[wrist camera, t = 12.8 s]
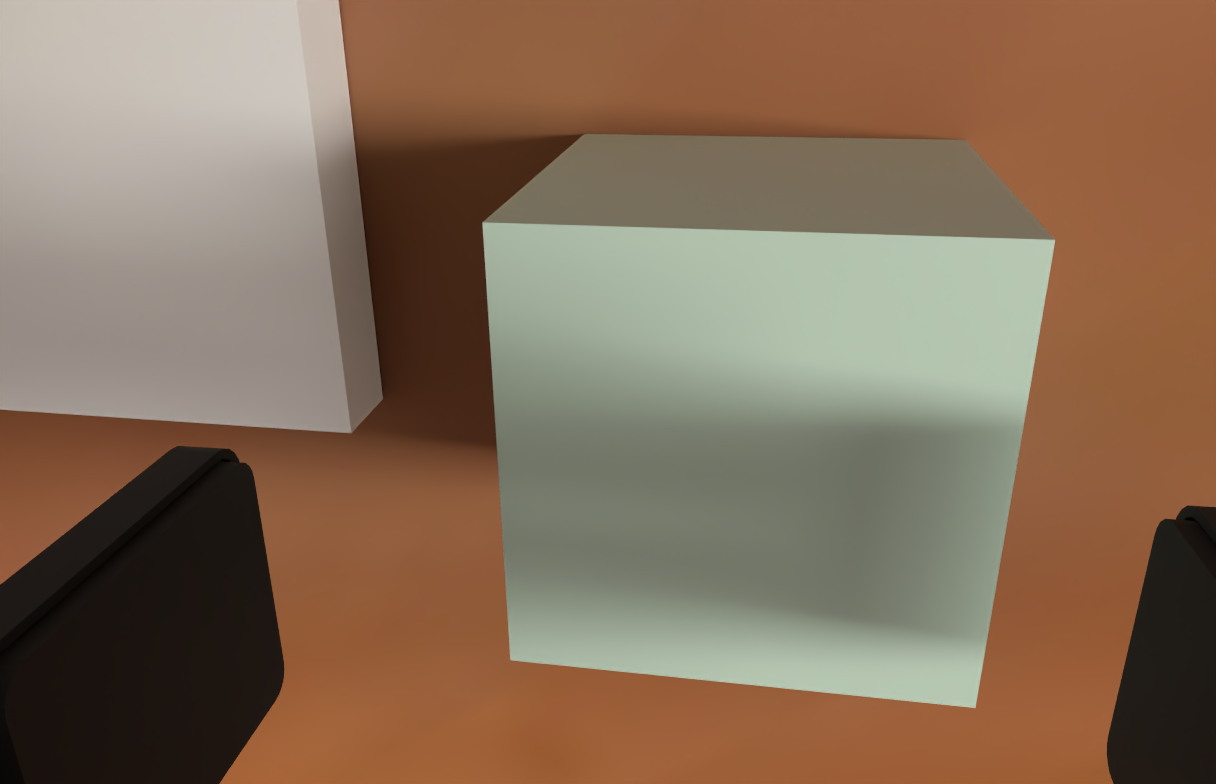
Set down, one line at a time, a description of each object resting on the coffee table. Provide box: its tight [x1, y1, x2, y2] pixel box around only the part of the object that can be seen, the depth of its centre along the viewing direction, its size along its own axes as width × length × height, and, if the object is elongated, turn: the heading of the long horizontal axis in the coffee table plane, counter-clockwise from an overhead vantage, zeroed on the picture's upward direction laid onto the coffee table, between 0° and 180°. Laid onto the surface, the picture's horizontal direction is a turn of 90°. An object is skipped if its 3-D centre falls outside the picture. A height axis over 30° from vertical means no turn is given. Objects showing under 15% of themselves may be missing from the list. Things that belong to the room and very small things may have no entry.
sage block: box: [482, 134, 1055, 708], centre depth 15 cm, size 6×6×6 cm
